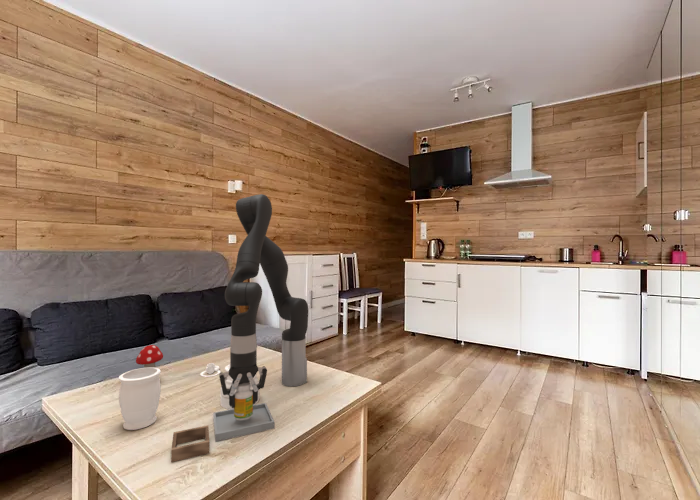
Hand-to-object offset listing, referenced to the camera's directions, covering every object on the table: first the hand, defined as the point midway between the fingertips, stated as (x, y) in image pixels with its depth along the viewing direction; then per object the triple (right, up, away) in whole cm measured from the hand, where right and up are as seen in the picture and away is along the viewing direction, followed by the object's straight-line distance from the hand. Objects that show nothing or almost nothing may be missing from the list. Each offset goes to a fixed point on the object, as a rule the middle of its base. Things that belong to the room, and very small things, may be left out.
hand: (243, 404), depth 99 cm
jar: (-31, -6, 0) cm, 31 cm away
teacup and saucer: (-24, -6, +41) cm, 47 cm away
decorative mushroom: (-45, -5, +28) cm, 53 cm away
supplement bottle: (0, -4, 0) cm, 4 cm away
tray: (0, -6, 0) cm, 6 cm away
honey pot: (-6, -6, +15) cm, 17 cm away
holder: (-10, -6, -12) cm, 17 cm away
